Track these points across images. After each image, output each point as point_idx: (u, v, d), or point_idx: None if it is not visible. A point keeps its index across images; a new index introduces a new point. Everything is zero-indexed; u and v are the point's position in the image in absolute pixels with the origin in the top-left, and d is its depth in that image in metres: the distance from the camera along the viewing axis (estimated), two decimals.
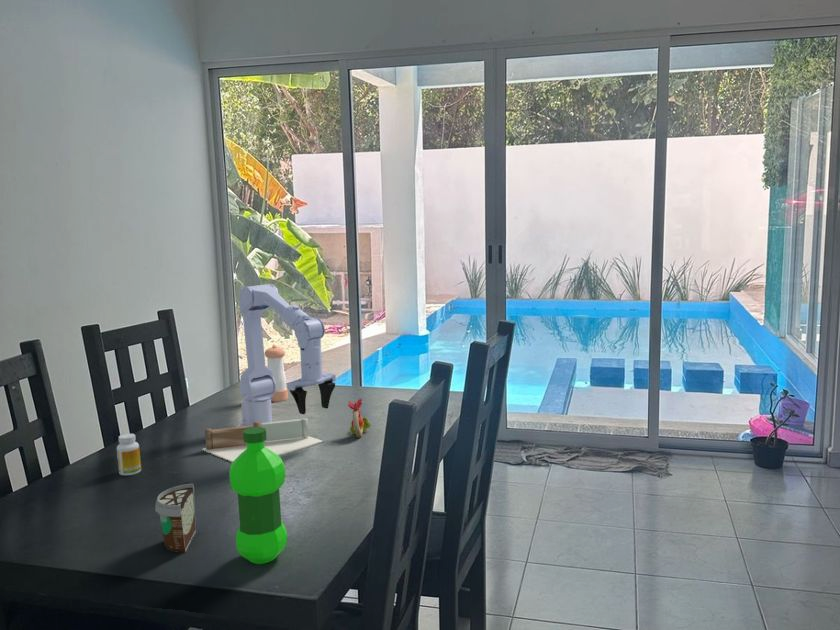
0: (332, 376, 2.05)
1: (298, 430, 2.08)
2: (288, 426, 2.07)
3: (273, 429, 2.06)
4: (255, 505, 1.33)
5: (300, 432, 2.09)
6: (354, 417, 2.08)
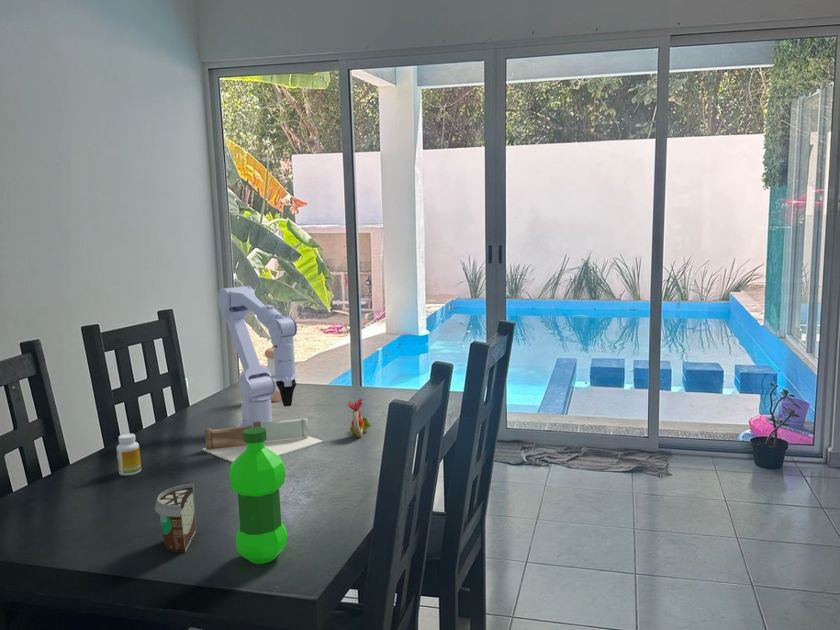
0: (283, 380, 2.04)
1: (298, 430, 2.08)
2: (288, 426, 2.07)
3: (273, 429, 2.06)
4: (255, 505, 1.33)
5: (300, 432, 2.09)
6: (354, 417, 2.08)
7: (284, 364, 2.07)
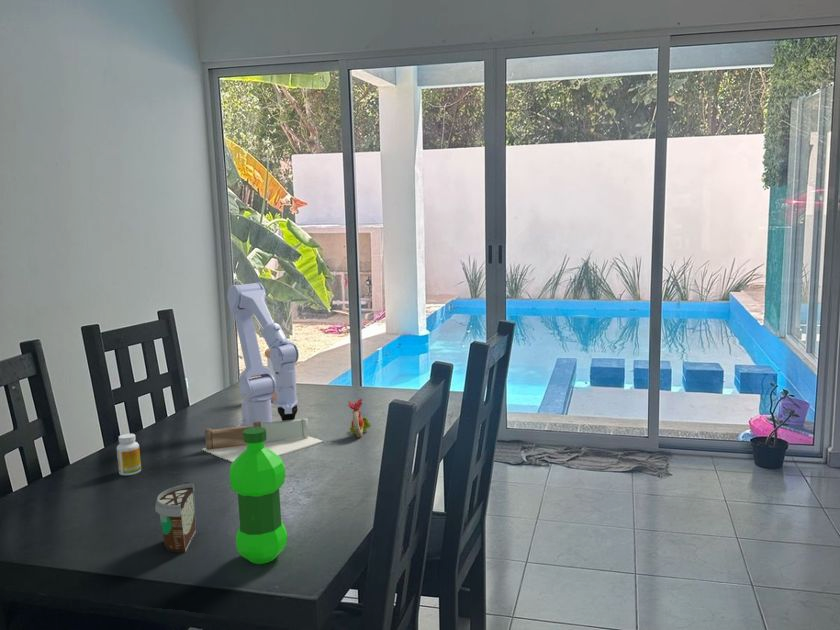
0: (283, 407, 2.04)
1: (298, 430, 2.08)
2: (288, 426, 2.07)
3: (273, 429, 2.06)
4: (255, 505, 1.33)
5: (300, 432, 2.09)
6: (354, 417, 2.08)
7: (285, 391, 2.06)
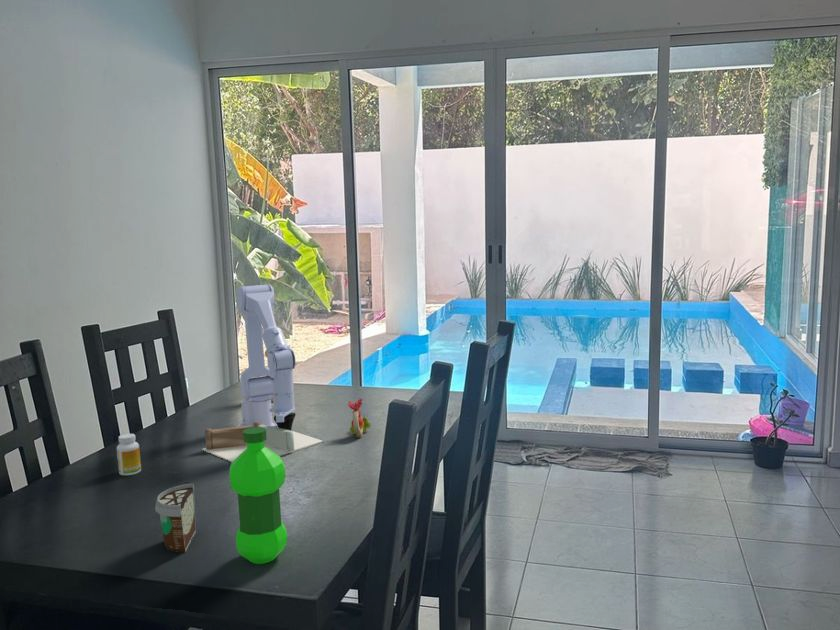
0: (276, 415, 1.96)
1: (283, 441, 1.99)
2: (276, 434, 2.00)
3: (266, 433, 2.03)
4: (255, 505, 1.33)
5: (285, 444, 1.98)
6: (354, 417, 2.08)
7: (280, 398, 1.99)
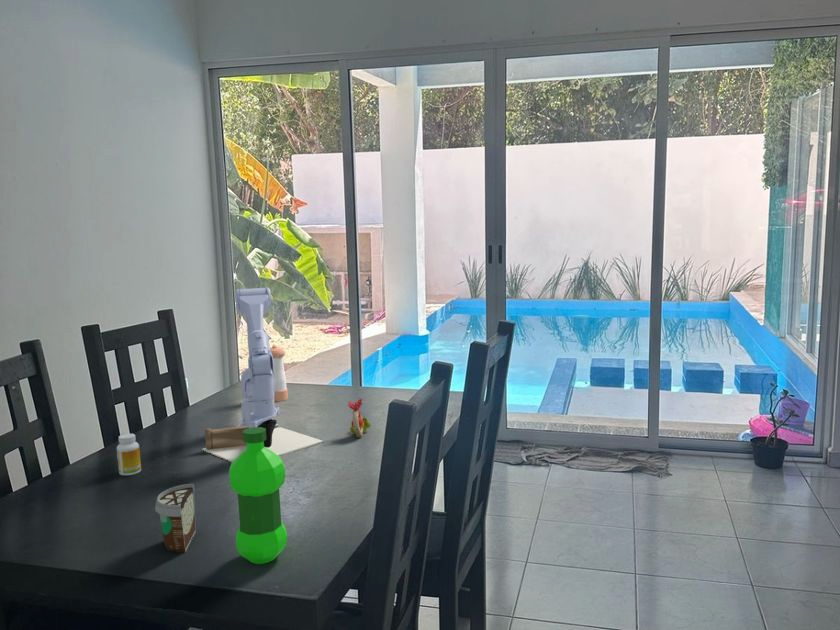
0: None
1: None
2: None
3: None
4: (255, 505, 1.33)
5: None
6: (354, 417, 2.08)
7: (257, 404, 1.94)
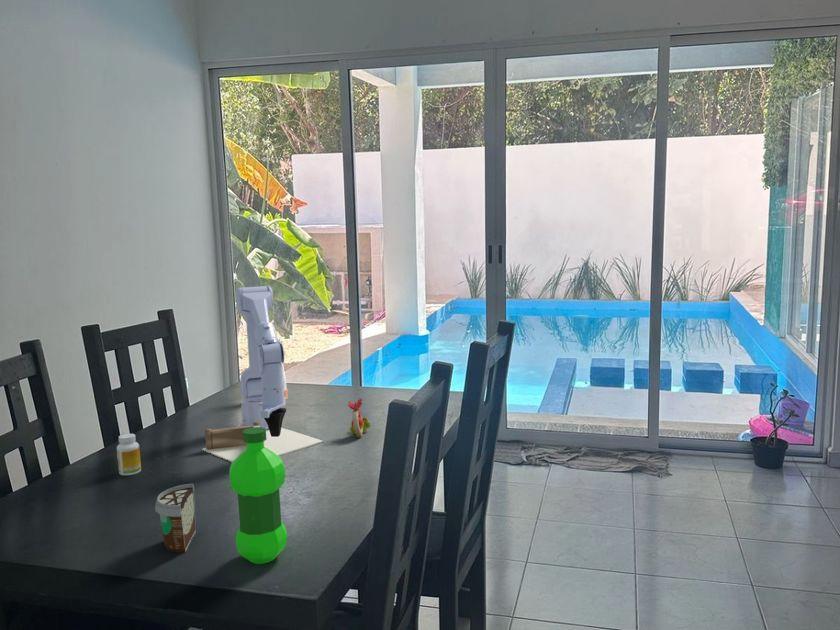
0: None
1: None
2: None
3: None
4: (255, 505, 1.33)
5: None
6: (354, 417, 2.08)
7: (268, 393, 1.94)
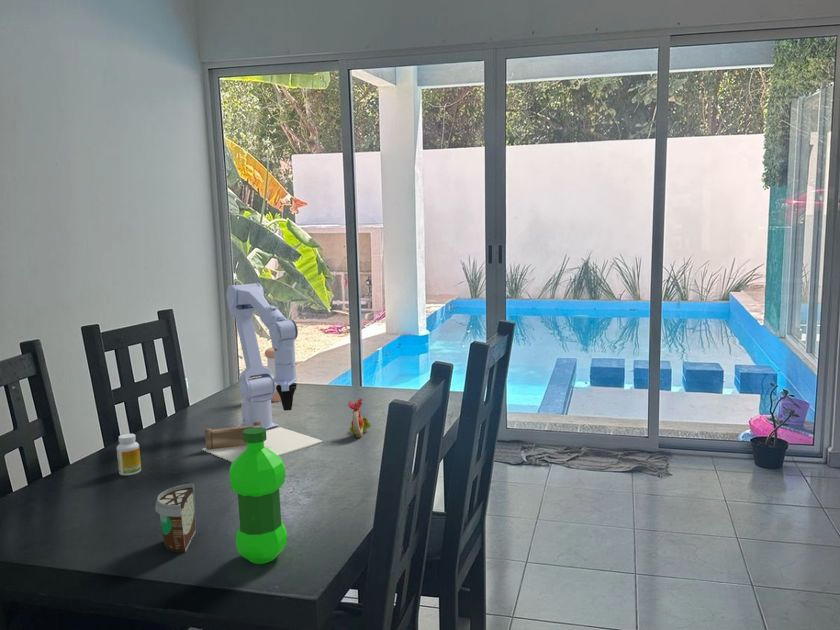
0: (281, 385, 2.00)
1: None
2: None
3: None
4: (255, 505, 1.33)
5: None
6: (354, 417, 2.08)
7: (283, 368, 2.02)
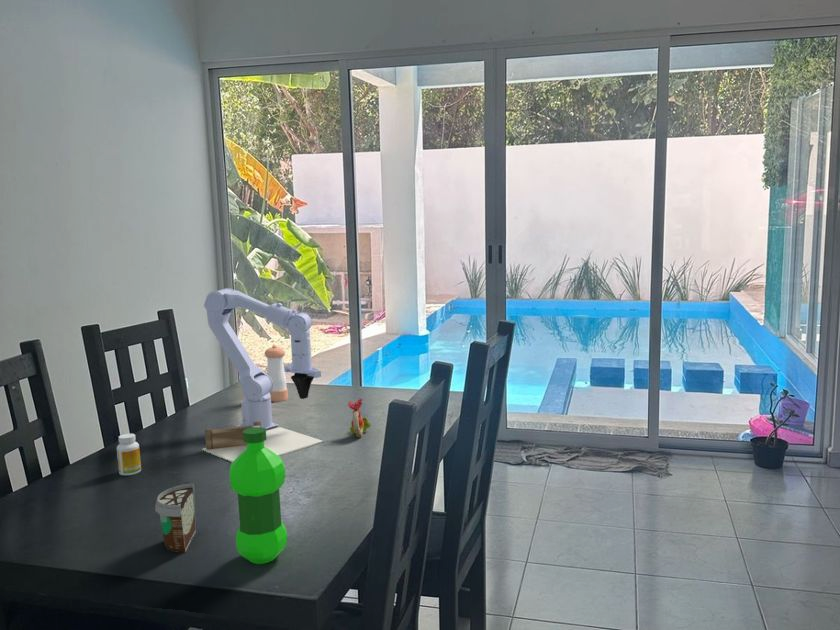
0: (312, 372, 2.13)
1: None
2: None
3: None
4: (255, 505, 1.33)
5: None
6: (354, 417, 2.08)
7: (306, 357, 2.15)
